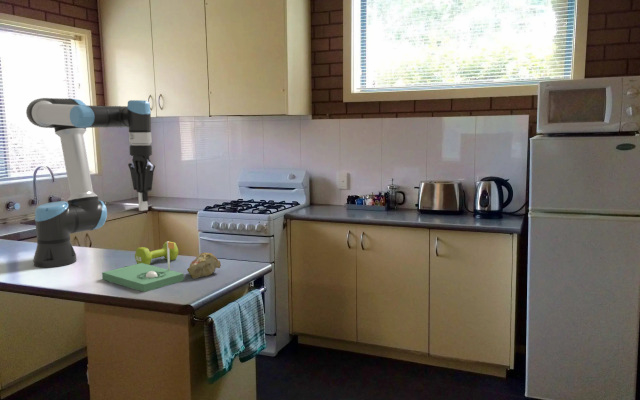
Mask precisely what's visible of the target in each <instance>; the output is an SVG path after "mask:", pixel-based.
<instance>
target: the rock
mask: <svg viewBox="0 0 640 400" xmlns="http://www.w3.org/2000/svg"><path fill="white" fill-rule="evenodd" d="M217 268H218V269H220V268H221V261H220V260H219V259H218V258H217V257H216V256H215V255H214V254H213V253H212V252H201V253H199V254H198V255H197V256H196V258H195V259H194V260H192V261H191V263H190V264H189V267H188V268H187V269H186V270H187V272H188V273H189V276H190V277H191V279H192V280H193V279H198V278H201V277H208V276H211V275H212V274H213V273H214V272H215V271H216V269H217Z"/></svg>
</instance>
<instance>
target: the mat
mask: <svg viewBox="0 0 640 400" xmlns="http://www.w3.org/2000/svg"><path fill="white" fill-rule="evenodd" d="M149 271H154V272H156V273H157V275H158V276H157V277H152V278H146V277H145V276H146V274H147V273H148V272H149ZM101 275H102V280H103V281H106V282H110V283H114V284H117V285H120V286H123V287H126V288H129V289H130V288H131V289H133V290H135V291H140V292H143V293H145V292H149V291H153V290H156V289H160V288H162V287H166V286H170V285H172V284H173V285H174V284H177V283H180V282H183V281H184V282H185V279H184V278H185V276H184V275H185V274H184V273H183V272H179V271H175V270H171V269H170V271H168V268H162V267H158V266H156V265H151V264H150V265H148V264H144V263H139V264H137V263H136V264H131V265H127V266H123V267H119V268H115V269H112V270H107V271H103V272H101Z"/></svg>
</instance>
